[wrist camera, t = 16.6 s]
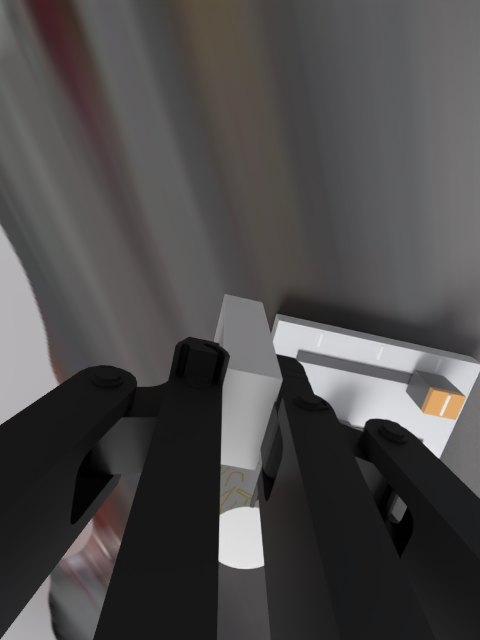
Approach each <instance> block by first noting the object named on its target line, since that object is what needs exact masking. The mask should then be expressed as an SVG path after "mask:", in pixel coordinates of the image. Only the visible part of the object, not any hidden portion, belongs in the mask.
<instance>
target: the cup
mask: <svg viewBox="0 0 480 640" xmlns="http://www.w3.org/2000/svg"><path fill="white" fill-rule="evenodd" d="M261 466H262V460H261V454H260V457H259V460H258V464H257V467H256V470H251V469H245V468H240V467H234V466H229V465H223V464H221V480H220V523H219V561H220V562H221V563H223V564H225V565H227V566H230V567H234V568H239V569H251V568H257V567H261V566H263V565H264V557H263V546H262V534H261V523H260V512H259V500H257V501H256V503H255V506H254V508H251V507H250V503H251V499H252V496H253V493H254V489H255V486H256V483H257V480H258V476H259V473H260V470H261Z"/></svg>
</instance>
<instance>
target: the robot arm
mask: <svg viewBox="0 0 480 640" xmlns="http://www.w3.org/2000/svg"><path fill="white" fill-rule="evenodd" d="M308 380H309V379H308V377H307V375H306V372H305V369H304V367H303V365H302V364H301V363H300V362H299V361H297V360H296V359H295V358H293V357H288V356H284V355H279V354H276V352H275V348H274V345H273V341H272V337H271V333H270V330H269V326H268V322H267V318H266V315H265V311H264V307H263V303H262V302H257V301H253V300H249V299H244V298H240V297H235V296H231V295H226V294H225V296H224V301H223V305H222V309H221V314H220V318H219V322H218V326H217V331H216V335H215V339H214V342H212V341H207V340H202V339H197V338H193V337H188V338H186V339H185V340H183V341H180V342H179V343H178V344H177V345H176V347H175V352H174V357H173V362H172V367H171V371H170V376H169V380H168V381H167V382H166V383H164V384H161V385H158V386H153V387H137V381H136V378H135V377H134V376H133V375H132V374H131V373H130V372H127V371H125V370H123V369H121V368H116V367H114V366H108V365H107V366H106V365H100V366H95V367H88V368H86V369H84V370H81V371H80V372H78V373H77V374H75V375H74V376H72V377H71V378H69V379H68V380H66V381H65V382H63V383H62V384H60V385H59V386H57V387H56V388H55V389H53V390H52V391H50V392H49V393H47V394H46V395H44V396H43V397H42V398H40V399H38V400H37V401H35V402H34V403H32V404H31V405H29V406H28V407H26V408H25V409H23V410H22V411H20V412H19V413H18V414H16V415H15V416H13V417H12V418H10V419H9V420H7V421H6V422H4V423H3V424H1V425H0V639H1V638H2V636H3V635H4V634H5V632H6V631H7V630H8V628H9V627H10V626H11V624H12V623H13V622H14V620H15V619H16V618H17V616H18V615H19V614H20V613H21V611H22V610H23V609H24V607H25V606H26V605H27V603H28V602H29V601H30V599H31V598H32V597H33V595H34V594H35V593H36V591H37V590H38V589H39V587H40V586H41V584H42V583H43V582H44V581H45V579H46V578H47V577H48V575H49V574H50V573H51V571H52V570H53V569H54V567H55V566H56V565H57V564H58V562H59V561H60V560H61V558H62V557H63V556H64V554H65V553H66V552H67V550H68V549H69V548H70V546H71V545H72V543H73V542H74V541H75V539H76V538H77V537H78V535H79V534H80V533H81V532H82V530H83V529H84V528H85V526H86V525H87V524H88V522H89V521H90V520H91V518H92V517H93V516H94V514H95V513H96V512H97V511H98V509H99V508H100V507H101V505H102V504H103V503H104V501H105V500H106V499H107V497H108V496H109V495H110V493H111V492H112V491H113V489H114V488H115V487H116V485H117V484H118V482H119V479H120V477H121V474H131V473H141V476H140V480H139V483H138V487H137V490H136V494H135V497H134V500H133V504H132V507H131V511H130V514H129V518H128V521H127V525H126V528H125V531H124V535H123V538H122V542H121V545H120V549H119V552H118V556H117V559H116V563H115V566H114V569H113V573H112V576H111V580H110V583H109V587H108V590H107V594H106V597H105V600H104V604H103V607H102V611H101V614H100V618H99V621H98V625H97V628H96V632H95V635H94V638H93V640H217V610H218V566H219V523H220V480H221V464H223V465H229V466H234V467H240V468H245V469H251V470H256V467H257V464H258V460H259V457H260V454H261V460H262V466H261V470H260V473H259V476H258V480H257V483H256V486H255V489H254V493H253V496H252V499H251V503H250V507H251V508H254V506H255V503H256V501H257V500H259V512H260V523H261V534H262V546H263V557H264V568H265V580H266V591H267V602H268V614H269V625H270V636H271V640H480V498H479V497H477V496H476V495H475V494H474V493H473V492H472V491H471V490H470V489H469V488H468V487H467V486H466V485H465V484H464V483H463V482H462V481H461V480H460V479H459V478H458V477H457V476H456V475H455V474H454V473H453V472H452V471H451V470H450V469H449V468H448V467H447V466H446V465H445V464H444V463H443V462H442V461H441V460H440V459H439V458H438V457H437V456H435V455H434V454H433V453H432V452H431V451H430V450H429V449H428V448H427V447H426V446H425V445H424V444H423V443H422V442H421V441H420V440H419V439H418V438H417V437H416V436H415V435H414V434H412V433H411V432H410V431H409V430H407V429H406V428H404V427H402V426H400V424H398V423H396V422H394V421H393V422H392V421H391V420H388V419H385V420H384V419H379V418H375V419H369V420H368V421H366V423H365V425H364V428H363V431H360V430H357V429H355V428H352V427H349V426H347V425H344V424H342V423H340V422H339V420H338V418H337V416H336V414H335V411H334V409H333V408H332V406H331V405H330V404H329V403H328V402H327V401H326V400H324V399H323V398H321V397H319V396H317V395H315V394H314V392H313V390H312V387H311V384H310V382H309V381H308ZM398 497H400V498H401V499H402V500H403V502H404V503H405V504H406V505H407V509H406V511H405V513H404V515H403V518H402V520H401V521H400V522H399V521H398V520H396V518H395V517H394V516H393V514H392V511H393V508H394V506H395V504H396V502H397V499H398Z"/></svg>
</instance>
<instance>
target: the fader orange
mask: <svg viewBox="0 0 480 640" xmlns="http://www.w3.org/2000/svg"><path fill="white" fill-rule="evenodd" d="M406 393H407V394H408V395H409V396H410V398H411V399H412V400H413V401H414V402H415V404H416V405H417V406H418V407H419V408H420V410H421V411H422V412H423V413H424V414H429V415H433V416H438V417H443V418H448V419H453V420H456V418H457V416H458V414H459V412H460V409H461V407H462V405H463V403H464V401H465V399H466V396H465V395H464V394H463V393H462V392H461V391H460V390H458V389H457V388H456V387H455V386H454V385H453V384H452V383H451V382H450V381H449V380H448V379H447V378H446V377H444V376H441V375H437V374H432V373H427V372H423V371H418V370H414V372H413V374H412V377H411V379H410V382H409V384H408V386H407V389H406Z"/></svg>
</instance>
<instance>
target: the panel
mask: <svg viewBox="0 0 480 640" xmlns="http://www.w3.org/2000/svg"><path fill="white" fill-rule="evenodd" d="M271 337H272V341H273V345H274V348H275V352H276V354H279V355H284V356H288V357H293V358H295V359H296V360H297V361H299V362H300V363H301V364H302V365H303V367H304V369H305V372H306V375H307V377H308V379H309V380H308V381H309V382H310V384H311V387H312V390H313V392H314V394H315V395H317V396H319V397H321V398H323V399H324V400H326V401H327V402H328V403H329V404H330V405H331V406H332V408H333V409H334V411H335V414H336V416H337V418H338V420H344V421H349V422H350V424H351V426H352V428H355V429H357V430H360V431H363V428H364V425H365V423H366V421H368V420H369V419H375V418H379V419H384V420H385V419H388V420H391V421H392V422H393V421H394V422H396V423H398V424H400V426H402V427H404V428H406V429H407V430H409V431H410V432H411V433H412V434H414V435H415V436H416V437H417V438H418V439H419V440H420V441H421V442H422V443H423V444H424V445H425V446H426V447H427V448H428V449H429V450H430V451H431V452H432V453H433V454H434V455H435V456H437V457H438V458H440V456H441V454H442V451H443V449H444V447H445V445H446V443H447V441H448V438H449V436H450V434H451V432H452V430H453V428H454V426H455V423H456V421H457V419H458V417H459V415H460V413H461V410H462V408H463V406H464V404H465V402H466V400H467V398H468V395H469V393H470V391H471V389H472V387H473V385H474V382H475V380H476V378H477V376H478V374H479V372H480V363H479V362H478V361H476V360H475V359H474V358H472V357H471V356H467V355H462V354H458V353H453V352H449V351H444V350H440V349H435V348H431V347H426V346H422V345H417V344H412V343H408V342H403V341H399V340H394V339H390V338H385V337H381V336H376V335H372V334H367V333H363V332H358V331H354V330H349V329H345V328H340V327H336V326H331V325H327V324H322V323H317V322H313V321H308V320H304V319H299V318H295V317H290V316H286V315H281V314H276V317H275V321H274V325H273V328H272V332H271ZM414 370H418V371H423V372H427V373H432V374H437V375H441V376H444V377H446V378H447V379H448V380H449V381H450V382H451V383H452V384H453V385H454V386H455V387H456V388H457V389H458V390H460V391H461V392H462V393H463V394H464V395H465V396H466V399H465V401H464V403H463V405H462V407H461V409H460V412H459V414H458V416H457V418H456V420H453V419H448V418H443V417H438V416H433V415H429V414H424V413H423V412H422V411H421V410H420V408H419V407H418V406H417V405H416V404H415V402H414V401H413V400H412V399H411V398H410V396H409V395H408V394H407V393H406V389H407V386H408V384H409V382H410V379H411V377H412V374H413V372H414Z"/></svg>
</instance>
